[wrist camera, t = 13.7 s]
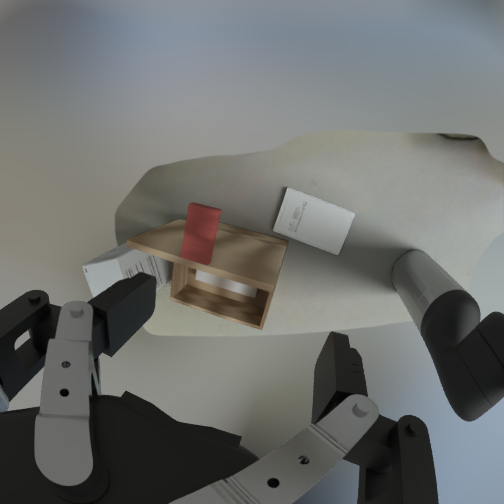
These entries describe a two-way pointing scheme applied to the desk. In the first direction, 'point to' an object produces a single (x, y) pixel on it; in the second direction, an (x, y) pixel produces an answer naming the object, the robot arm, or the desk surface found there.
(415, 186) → the desk surface
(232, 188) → the desk surface
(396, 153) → the desk surface
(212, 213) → the lid
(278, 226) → the external hard drive
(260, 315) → the mailer base
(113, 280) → the supplement box
